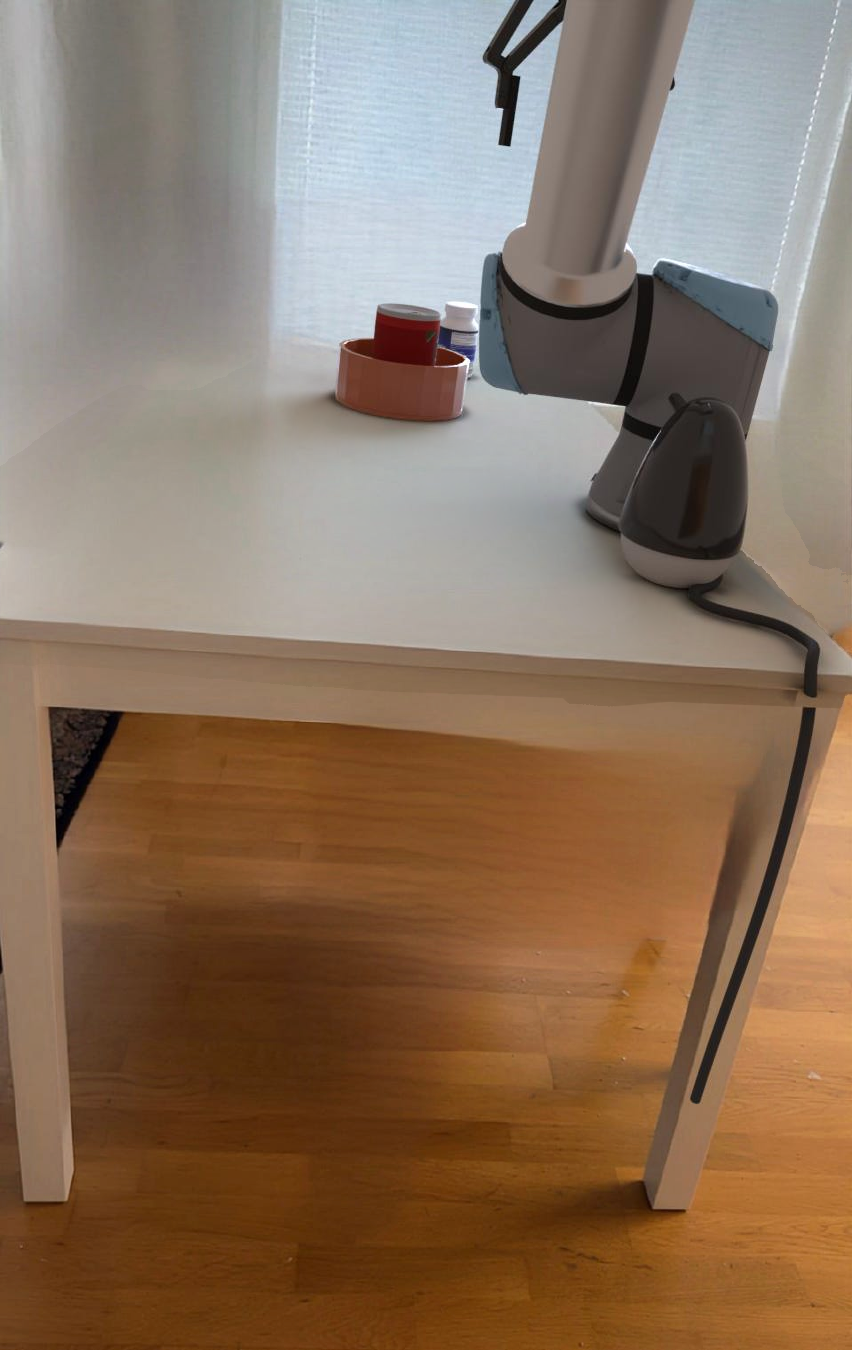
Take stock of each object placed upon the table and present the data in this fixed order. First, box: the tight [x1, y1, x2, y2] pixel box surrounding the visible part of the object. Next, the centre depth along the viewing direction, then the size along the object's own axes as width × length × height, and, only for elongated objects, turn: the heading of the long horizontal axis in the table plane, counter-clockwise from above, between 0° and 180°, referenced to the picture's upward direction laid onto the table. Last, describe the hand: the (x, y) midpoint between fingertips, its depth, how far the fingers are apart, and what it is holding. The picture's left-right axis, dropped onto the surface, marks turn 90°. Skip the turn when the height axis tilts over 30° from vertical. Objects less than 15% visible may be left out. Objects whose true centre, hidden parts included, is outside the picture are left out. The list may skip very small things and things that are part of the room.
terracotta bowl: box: [334, 337, 470, 422], centre depth 134 cm, size 16×16×6 cm
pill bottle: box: [438, 301, 479, 379], centre depth 155 cm, size 6×6×10 cm
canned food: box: [372, 302, 442, 366], centre depth 133 cm, size 8×8×11 cm
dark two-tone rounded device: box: [618, 393, 749, 589], centre depth 87 cm, size 10×10×15 cm
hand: (565, 155), depth 114 cm, fingers open, 13 cm apart
